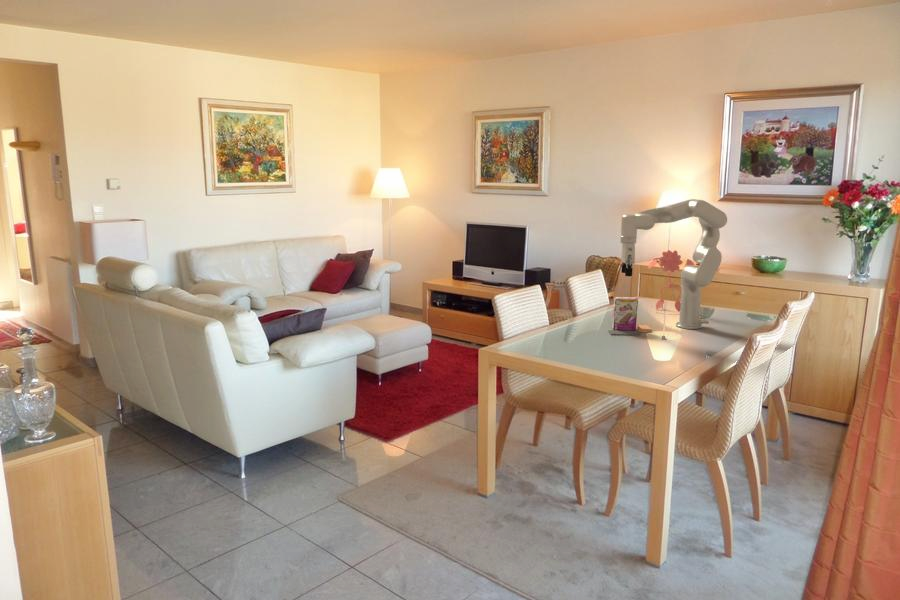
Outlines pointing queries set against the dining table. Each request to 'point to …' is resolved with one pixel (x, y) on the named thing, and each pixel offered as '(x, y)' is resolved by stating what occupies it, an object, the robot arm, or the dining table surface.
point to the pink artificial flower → (670, 263)
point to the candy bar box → (625, 313)
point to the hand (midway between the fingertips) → (626, 274)
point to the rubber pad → (623, 332)
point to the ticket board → (643, 328)
